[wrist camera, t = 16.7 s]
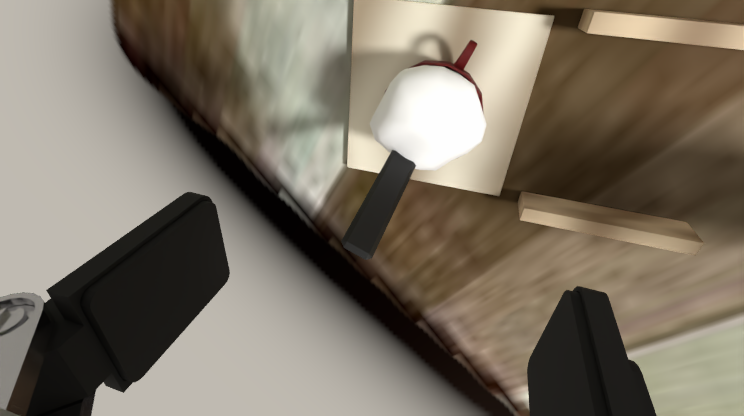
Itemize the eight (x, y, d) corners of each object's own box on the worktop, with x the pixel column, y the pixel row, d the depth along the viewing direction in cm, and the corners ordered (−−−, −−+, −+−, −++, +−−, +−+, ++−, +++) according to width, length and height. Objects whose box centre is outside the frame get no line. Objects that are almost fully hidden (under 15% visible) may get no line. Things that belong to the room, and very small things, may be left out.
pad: (553, 15, 21) (554, 16, 21) (499, 193, 28) (499, 196, 27) (356, -5, 23) (354, -4, 23) (349, 164, 30) (347, 166, 30)
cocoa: (463, 19, 22) (449, 26, 12) (518, 102, 24) (547, 170, 14) (353, 112, 27) (276, 174, 17) (405, 177, 28) (362, 271, 18)
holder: (813, 31, 19) (853, 36, 17) (679, 233, 26) (695, 255, 24) (584, 8, 21) (594, 11, 19) (517, 202, 28) (519, 220, 26)
